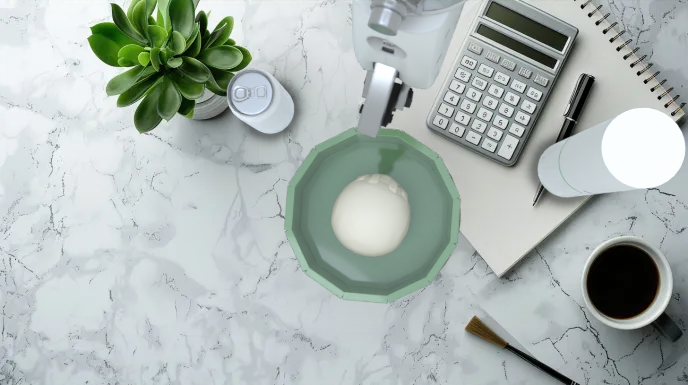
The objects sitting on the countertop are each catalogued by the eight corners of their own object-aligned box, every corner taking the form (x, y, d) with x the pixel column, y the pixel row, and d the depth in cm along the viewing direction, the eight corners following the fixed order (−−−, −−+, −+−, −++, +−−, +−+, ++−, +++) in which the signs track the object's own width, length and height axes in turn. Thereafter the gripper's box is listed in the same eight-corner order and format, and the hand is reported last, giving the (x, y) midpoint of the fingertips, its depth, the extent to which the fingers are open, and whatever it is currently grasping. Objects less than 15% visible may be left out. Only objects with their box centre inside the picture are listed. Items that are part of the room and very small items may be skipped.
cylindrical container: (588, 201, 79) (678, 194, 54) (532, 192, 79) (595, 180, 54) (597, 147, 79) (691, 114, 54) (541, 138, 80) (608, 101, 55)
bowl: (410, 109, 57) (412, 98, 52) (481, 252, 56) (490, 256, 51) (269, 178, 58) (257, 174, 53) (336, 320, 57) (330, 331, 52)
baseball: (422, 191, 56) (426, 187, 50) (393, 265, 56) (392, 271, 49) (354, 164, 57) (349, 156, 50) (324, 237, 57) (315, 239, 50)
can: (246, 88, 83) (221, 67, 71) (293, 84, 82) (276, 62, 71) (249, 136, 83) (224, 122, 71) (296, 132, 82) (280, 118, 70)
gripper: (439, 138, 26) (422, 165, 43) (575, -251, 26) (504, -69, 43) (273, 82, 27) (321, 131, 44) (405, -297, 26) (402, -100, 44)
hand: (412, 32), depth 43 cm, fingers open, 9 cm apart
